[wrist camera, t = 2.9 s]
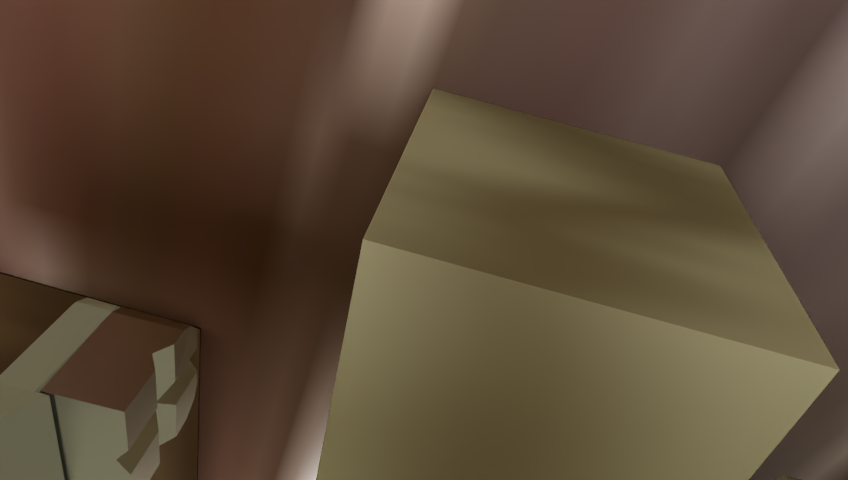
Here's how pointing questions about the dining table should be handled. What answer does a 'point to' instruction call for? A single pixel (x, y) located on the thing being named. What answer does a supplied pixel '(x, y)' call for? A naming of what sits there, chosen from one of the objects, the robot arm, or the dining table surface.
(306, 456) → the dining table surface
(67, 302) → the brown square block
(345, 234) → the dining table surface
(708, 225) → the birch cube
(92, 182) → the dining table surface
